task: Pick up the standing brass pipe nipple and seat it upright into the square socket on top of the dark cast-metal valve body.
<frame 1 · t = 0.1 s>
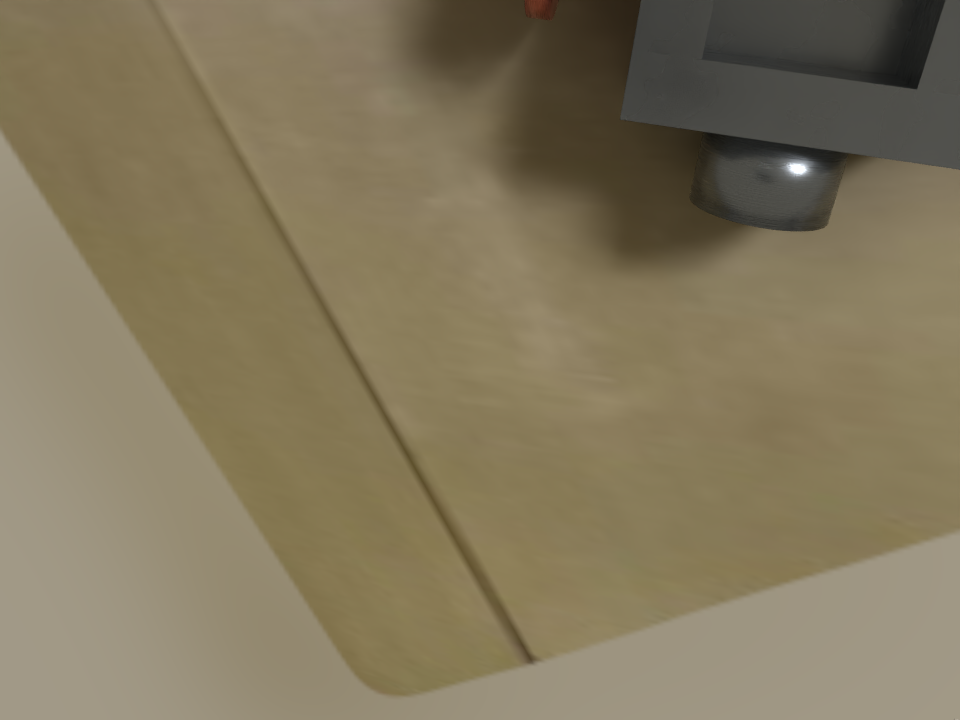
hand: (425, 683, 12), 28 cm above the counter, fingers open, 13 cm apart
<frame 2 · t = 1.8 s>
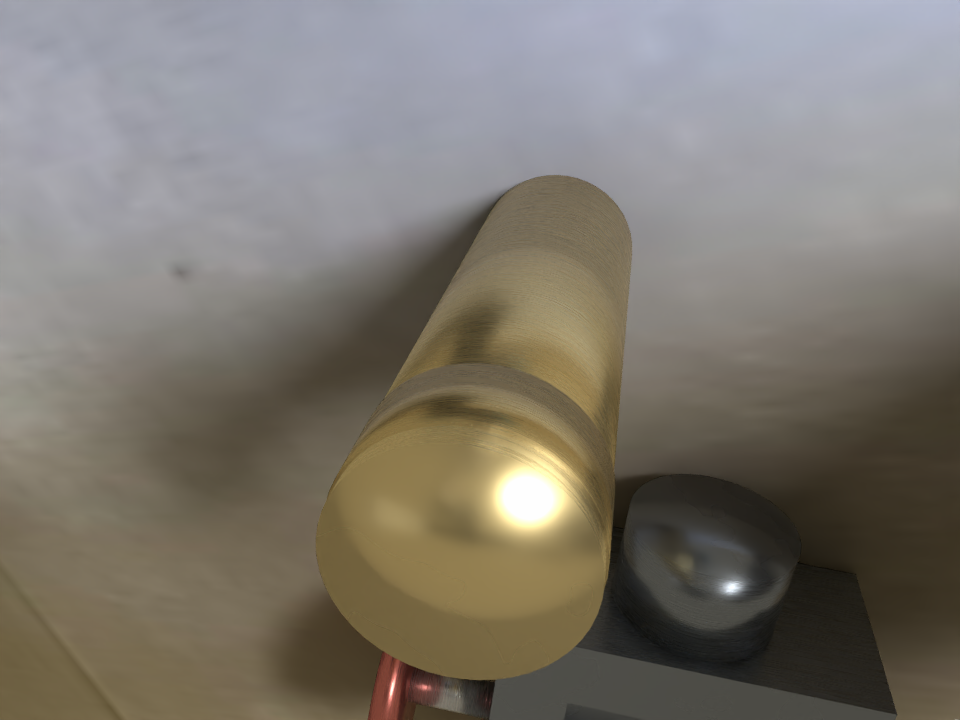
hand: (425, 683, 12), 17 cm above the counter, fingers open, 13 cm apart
fitting: (555, 249, 27), on the counter
valve body: (657, 661, 33), on the counter
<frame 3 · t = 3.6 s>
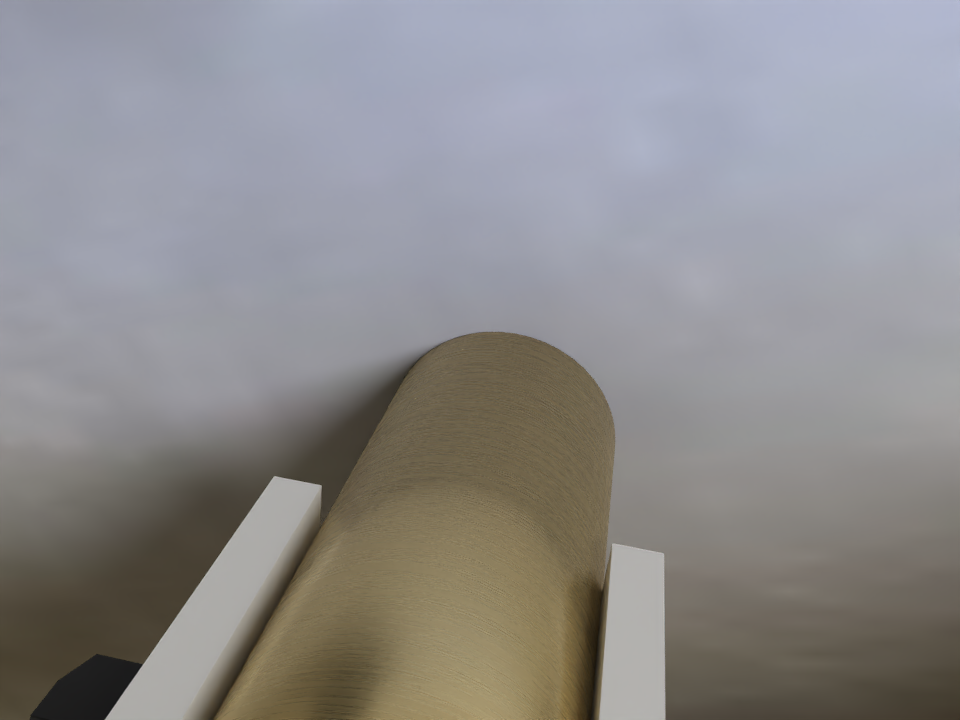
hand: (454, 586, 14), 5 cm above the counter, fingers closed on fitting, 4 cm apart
fitting: (501, 435, 18), on the counter, touching gripper
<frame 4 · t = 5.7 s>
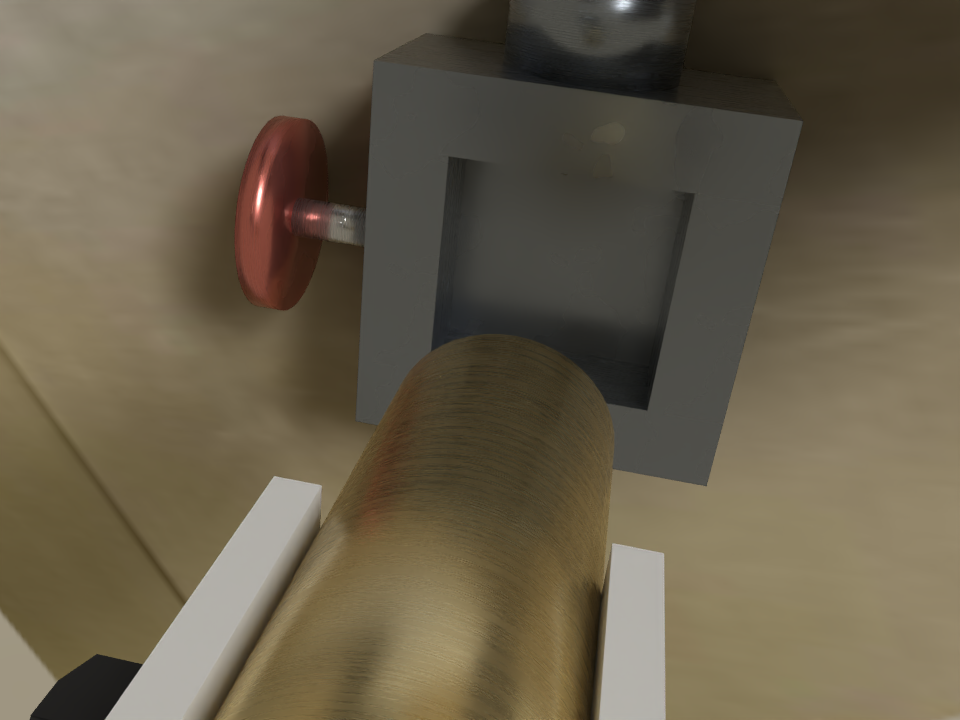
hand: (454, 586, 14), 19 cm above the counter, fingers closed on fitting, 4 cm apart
fitting: (500, 437, 18), point 14 cm above the counter, touching gripper
valve body: (570, 224, 31), on the counter
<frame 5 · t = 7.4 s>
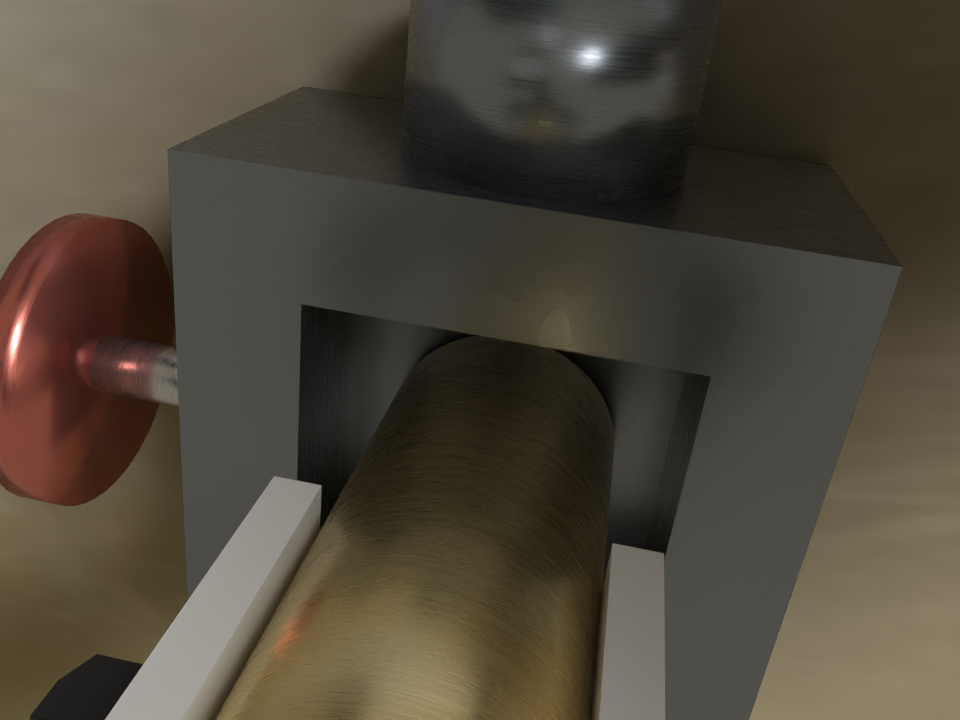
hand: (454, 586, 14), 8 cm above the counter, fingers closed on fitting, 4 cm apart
fitting: (500, 437, 18), point 3 cm above the counter, touching gripper
valve body: (523, 362, 21), on the counter
when the fingers open (8 cm above the counter, at t = 8.3 s): fitting stays where it is, resting on valve body.
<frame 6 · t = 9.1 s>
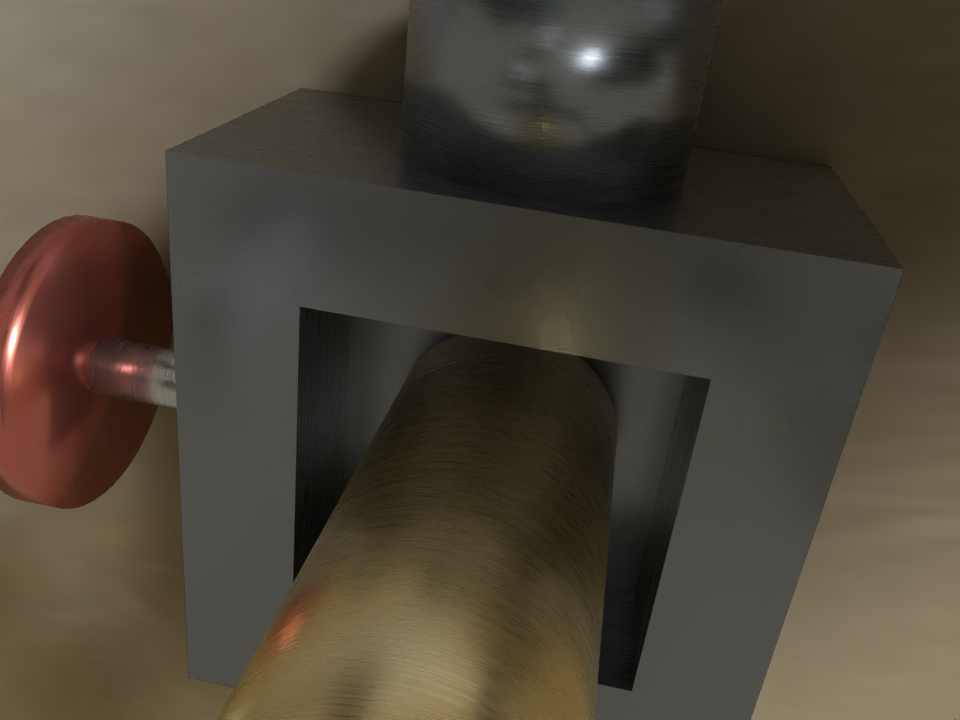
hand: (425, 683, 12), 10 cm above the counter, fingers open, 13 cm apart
fitting: (505, 429, 19), point 3 cm above the counter, touching valve body
valve body: (523, 364, 21), on the counter
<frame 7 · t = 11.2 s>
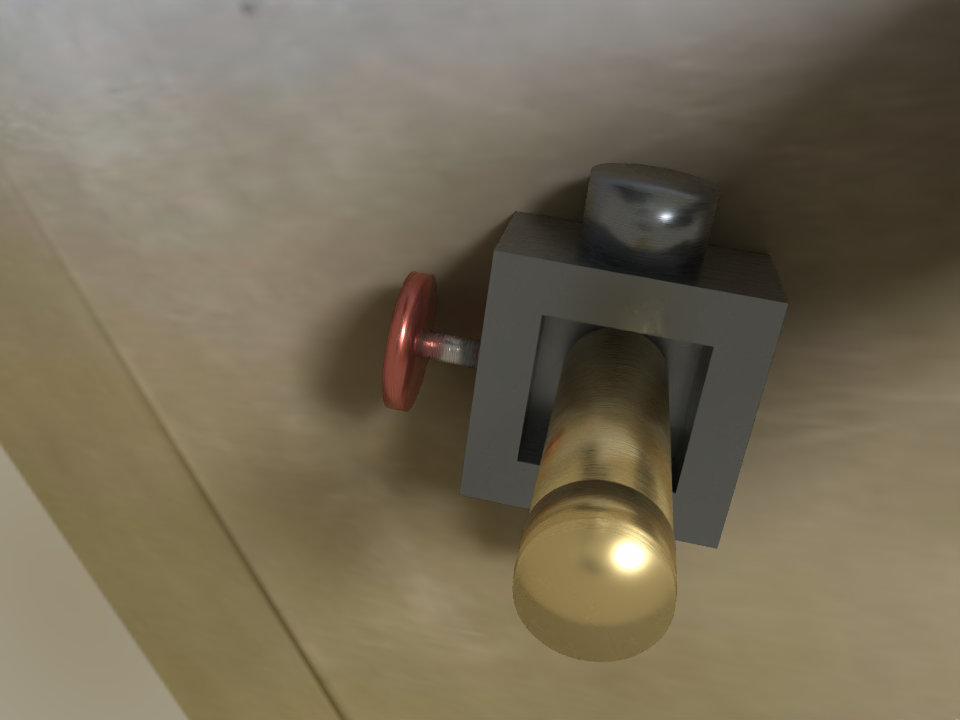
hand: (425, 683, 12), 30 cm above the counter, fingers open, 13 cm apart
fitting: (614, 376, 39), point 3 cm above the counter, touching valve body
valve body: (616, 348, 42), on the counter
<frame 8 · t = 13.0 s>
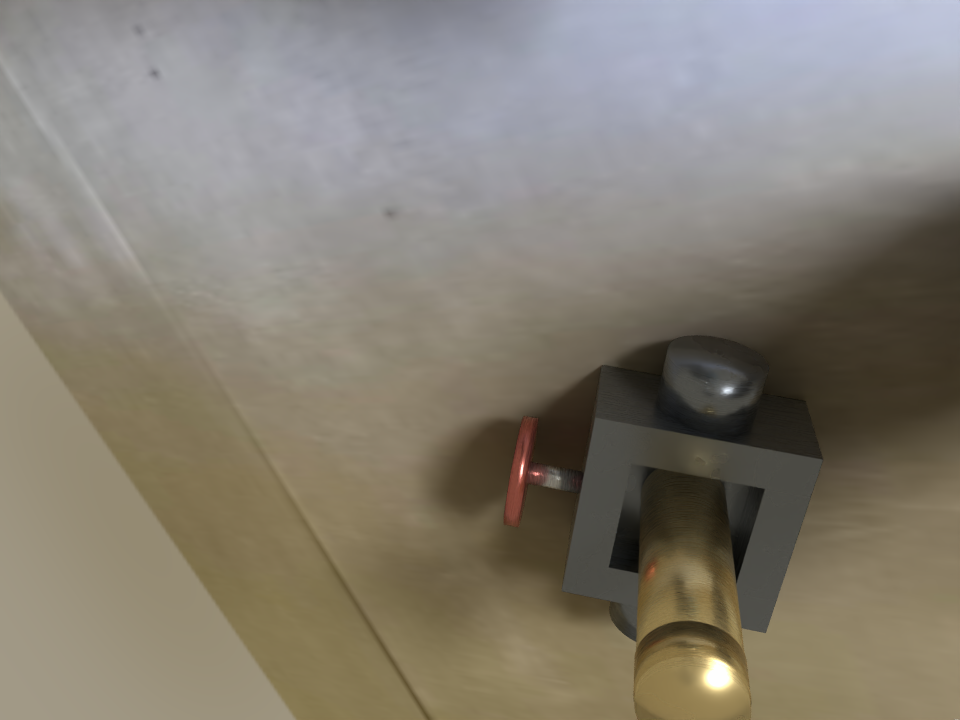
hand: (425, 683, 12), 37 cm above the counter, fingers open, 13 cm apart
fitting: (683, 497, 49), point 3 cm above the counter, touching valve body
valve body: (681, 467, 52), on the counter
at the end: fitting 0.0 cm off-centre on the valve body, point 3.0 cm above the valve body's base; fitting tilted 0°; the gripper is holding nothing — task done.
